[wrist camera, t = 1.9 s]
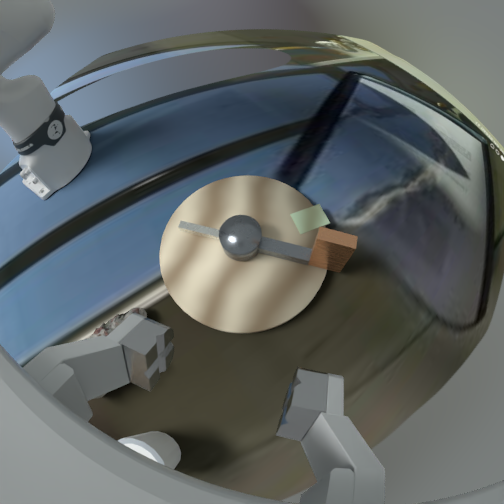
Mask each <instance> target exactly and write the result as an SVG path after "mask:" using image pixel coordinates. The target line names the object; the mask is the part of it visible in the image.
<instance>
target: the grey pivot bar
mask: <svg viewBox="0 0 504 504" xmlns="http://www.w3.org/2000/svg"><path fill="white" fill-rule="evenodd" d="M178 228H179V230H180V231H183V232H187V233H191V234H195V235H199V236H203V237H207V238H211V239H215V240H219V241H220V243H221V245H222V248H223V250H224V252H225V254H226V255H227V256H228V257H229V258H231V259H233V260H236V261H247V260H250V259H252V258H254V257H255V256H256V255H257V254H258V253H261V254H265V255H269V256H273V257H277V258H281V259H285V260H288V261H292V262H296V263H300V264H304V265H311V266H315V267H319V268H323V269H327V270H331V271H335V272H339V273H340V271H341V270H342V268H343V267H344V266H345V264H346V263H347V261H348V260H349V258H350V257H351V255H352V254H353V252H354V251H355V249H356V245H357V237H358V236H354V235H350V234H347V233H343V232H339V231H335V230H331V229H328V228H324V227H319V230H318V233H317V236H316V239H315V242H314V245H313V248H312V249H311V248H307V247H303V246H299V245H295V244H291V243H287V242H283V241H279V240H275V239H271V238H267V237H263V236H262V231H261V227H260V225H259V223H258V222H257V221H256V220H255V219H254V218H252V217H250V216H247V215H235V216H232V217H230V218H228V219H227V220H226V221H225V222H224V223H223V224H222V225H221V227H220V230H218V229H214V228H210V227H206V226H202V225H197V224H193V223H189V222H185V221H180V224H179V226H178Z"/></svg>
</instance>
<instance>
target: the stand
mask: <svg viewBox="0 0 504 504" xmlns="http://www.w3.org/2000/svg"><path fill="white" fill-rule="evenodd" d="M235 215H247V216H250V217H252V218H254V219H255V220H256V221H257V222H258V223H259V225H260V227H261V231H262V236H263V237H267V238H271V239H275V240H279V241H283V242H287V243H291V244H295V245H299V246H303V247H307V248H311V249H312V248H313V245H314V242H315V239H316V236H317V233H318V230H319V227H324V228H326V227H325V225H327V224H330V222H329V220H328V218H327V217H326V215H325V213H324V211H323V210H322V208H321V206H320V205H319V204H318V205H315V206H313V205H312V204H311V202H310V201H309V200H308V199H307V198H306V197H304V196H303V195H302V194H301V193H300V192H298V191H297V190H295V189H294V188H292V187H290V186H288V185H287V184H285V183H282V182H279V181H277V180H274V179H270V178H266V177H260V176H235V177H230V178H225V179H222V180H218V181H215V182H213V183H210V184H208V185H206V186H204V187H202V188H201V189H199V190H197V191H196V192H195V193H193V194H192V195H190V196H189V197H188V198H187V199H186V200H185V201H184V202H183V203H182V204H181V205H180V206H179V207H178V208H177V209H176V211H175V212H174V214H173V215H172V216H171V218H170V220H169V222H168V224H167V226H166V228H165V231H164V233H163V237H162V241H161V246H160V267H161V273H162V277H163V280H164V283H165V285H166V287H167V289H168V291H169V293H170V295H171V296H172V298H173V299H174V301H175V302H176V303H177V304H178V305H179V306H180V307H181V308H182V310H183V311H185V312H186V313H187V314H188V315H190V316H191V317H192V318H194V319H195V320H197V321H199V322H200V323H202V324H204V325H206V326H208V327H211V328H213V329H216V330H219V331H223V332H227V333H237V334H249V333H257V332H263V331H266V330H269V329H273V328H276V327H278V326H280V325H282V324H284V323H286V322H288V321H289V320H291V319H292V318H294V317H295V316H297V315H298V314H299V313H300V312H301V311H302V310H303V309H305V308H306V306H307V305H308V304H309V303H310V302H311V301H312V299H313V298H314V296H315V295H316V293H317V292H318V290H319V288H320V287H321V285H322V282H323V280H324V278H325V275H326V272H327V269H323V268H319V267H315V266H311V265H304V264H300V263H296V262H292V261H288V260H285V259H281V258H277V257H273V256H269V255H265V254H261V253H258V254H257V255H256V256H255V257H254V258H252V259H250V260H247V261H236V260H233V259H231V258H229V257H228V256H227V255H226V254H225V252H224V250H223V248H222V245H221V243H220V241H219V240H215V239H211V238H207V237H203V236H199V235H195V234H191V233H187V232H183V231H180V230H179V228H178V226H179V224H180V221H185V222H189V223H193V224H197V225H202V226H206V227H210V228H214V229H218V230H220V227H221V225H222V224H223V223H224V222H225V221H226V220H227V219H228V218H230V217H232V216H235Z"/></svg>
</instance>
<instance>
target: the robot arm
mask: <svg viewBox="0 0 504 504" xmlns="http://www.w3.org/2000/svg"><path fill="white" fill-rule="evenodd" d="M54 18H55V10H54V6H53V4H52V3H51V1H50V0H0V126H1V127H2V128H3V129H4V130H5V131H6V133H7V134H8V135H9V136H10V137H11V139H12V141H13V144H14V146H15V148H16V150H17V151H18V153H19V154H20V160H19V166H20V167H21V168H22V169H23V170H22V171H21V173H20V176H21V177H22V178H23V184H24V185H25V186H26V187H28V188H29V189H30V190H31V191H33V192H34V193H35V194H36V195H38V196H39V197H40V198H41V199H43V200H45V199H47V198H48V197H49V196H50V195H51V194H52V193H53V192H55V191H56V190H58V189H60V188H61V187H63V186H65V185H66V184H67V183H69V182H70V181H71V180H72V179H73V178H74V177H75V176H76V175H77V174H78V173H79V172H80V171H81V170H82V168H83V167H84V166H85V164H86V162H87V161H88V159H89V157H90V154H91V150H92V146H91V143H90V141H89V139H90V133H89V132H88V131H84V132H83V130H82V129H81V128H80V126H79V125H78V124H77V123H76V121H75V120H74V119H73V118H72V116H70V115H65V113H64V112H63V110H62V108H61V106H60V105H59V104H58V103H57V102H56V101H54V100H53V98H52V97H51V95H50V93H49V92H48V90H47V88H46V87H45V85H44V83H43V82H42V80H41V79H40V78H39V77H37V76H35V75H27V76H23V77H20V78H17V79H14V80H8V79H5V78H4V77H3V76H2V75H1V74H2V73H3V72H4V71H5V70H6V69H7V68H8V67H9V66H11V65H12V64H13V63H14V62H15V61H17V60H18V59H19V58H20V57H22V56H23V55H24V54H25V53H27V52H28V51H29V50H31V49H32V48H33V47H34V46H35V45H36V44H37V43H38V42H39V41H40V40H41V39H42V38H43V37H44V36H46V35H47V34H48V33H49V32H50V30H51V28H52V26H53V23H54ZM173 338H174V333H173V329H172V328H170V327H168V326H165V325H163V324H161V323H158V322H156V321H154V320H151V319H149V318H146V317H144V316H142V315H140V314H137V313H133V314H131V315H130V316H129V317H127V318H126V319H125V320H124V321H123V322H122V323H121V324H120V325H119V326H117V327H116V328H115V329H114V330H113V331H112V332H111V333H110V334H109V335H108V336H104V335H102V336H97V337H93V338H89V339H85V340H80V341H76V342H71V343H67V344H62V345H58V346H53V347H48V348H46V349H44V350H43V351H42V352H41V353H40V354H38V355H37V356H36V357H35V358H34V359H33V360H31V361H30V362H29V363H28V364H27V365H26V366H24V367H23V368H22V367H21V366H20V365H19V364H18V363H17V362H16V361H15V360H14V359H13V358H12V357H11V356H10V354H9V353H8V352H7V351H6V350H5V349H4V348H3V347H2V346H1V344H0V504H297V503H290V502H283V501H278V500H272V499H267V498H262V497H258V496H253V495H249V494H245V493H241V492H237V491H234V490H230V489H227V488H224V487H220V486H217V485H214V484H211V483H208V482H205V481H202V480H199V479H197V478H194V477H191V476H189V475H186V474H184V473H181V472H179V471H176V470H174V469H172V468H169V467H167V466H165V465H163V464H160V463H158V462H156V461H154V460H152V459H150V458H148V457H146V456H144V455H142V454H140V453H138V452H136V451H134V450H132V449H131V448H129V447H127V446H125V445H123V444H122V443H120V442H118V441H117V440H115V439H113V438H112V437H110V436H108V435H107V434H105V433H103V432H102V431H100V430H99V429H97V428H96V427H94V426H93V425H91V424H90V423H88V421H89V419H90V418H91V417H92V416H93V413H92V410H91V408H90V406H89V404H88V402H87V401H88V400H90V399H93V398H95V397H98V396H100V395H103V394H105V393H107V392H110V391H112V390H114V389H117V388H119V387H121V386H124V385H126V384H128V383H130V382H132V383H134V384H136V385H138V386H140V387H142V388H144V389H147V390H149V391H151V390H152V389H153V387H154V386H155V385H156V383H157V382H158V381H159V379H160V375H159V373H160V372H163V371H166V370H167V368H168V367H169V365H170V363H171V361H172V358H173V354H174V346H173V344H172V343H171V340H172V339H173ZM282 410H283V413H282V415H281V417H280V420H279V424H278V428H277V432H276V435H277V436H281V437H285V438H289V439H294V440H298V441H301V444H302V446H303V449H304V451H305V454H306V456H307V458H308V461H309V463H310V465H311V468H312V470H313V472H314V475H315V477H316V479H317V483H316V484H315V485H313V486H312V487H311V488H309V489H308V490H307V491H305V492H304V493H303V494H301V499H300V503H299V504H384V502H385V501H384V500H385V469H384V467H383V466H382V465H381V463H380V462H379V460H378V459H377V458H376V456H375V455H374V453H373V452H372V450H371V449H370V448H369V446H368V445H367V443H366V442H365V440H364V439H363V438H362V436H361V435H360V433H359V432H358V430H357V429H356V427H355V426H354V425H353V423H352V422H351V420H350V419H349V417H348V416H344V378H343V376H339V375H334V374H329V373H328V374H327V373H323V372H318V371H314V370H309V369H305V368H300V367H297V369H296V371H295V373H294V376H293V381H292V383H290V385H289V388H288V390H287V393H286V396H285V399H284V403H283V407H282ZM415 504H504V480H503V481H500V482H497V483H495V484H493V485H489V486H487V487H483V488H480V489H477V490H474V491H471V492H467V493H464V494H460V495H456V496H452V497H448V498H444V499H439V500H434V501H428V502H422V503H415Z"/></svg>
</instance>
